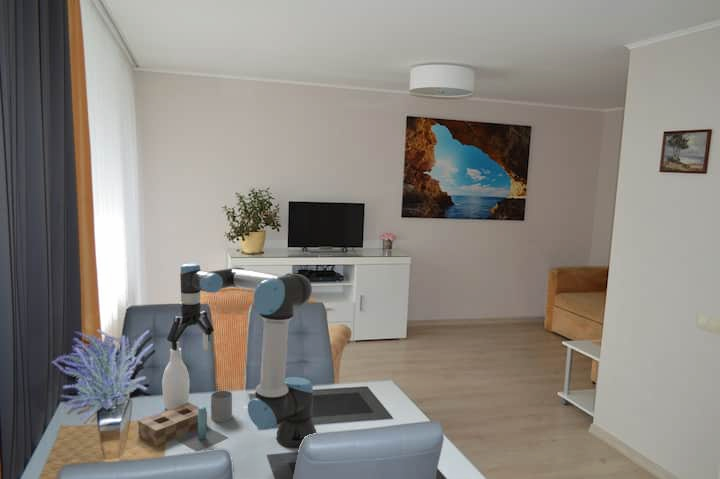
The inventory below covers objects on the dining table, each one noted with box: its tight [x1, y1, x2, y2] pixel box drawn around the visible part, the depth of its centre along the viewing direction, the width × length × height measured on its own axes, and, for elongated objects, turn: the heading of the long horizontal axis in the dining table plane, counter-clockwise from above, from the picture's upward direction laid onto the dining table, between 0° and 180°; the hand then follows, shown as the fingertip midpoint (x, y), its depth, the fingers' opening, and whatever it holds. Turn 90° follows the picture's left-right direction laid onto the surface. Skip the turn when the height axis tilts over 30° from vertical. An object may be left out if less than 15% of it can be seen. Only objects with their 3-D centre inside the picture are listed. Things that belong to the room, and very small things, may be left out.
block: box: [137, 402, 208, 446], centre depth 209 cm, size 12×22×6 cm, turn 142°
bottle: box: [161, 347, 191, 411], centre depth 229 cm, size 11×11×25 cm
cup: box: [210, 390, 233, 423], centre depth 220 cm, size 8×8×10 cm
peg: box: [197, 406, 207, 440], centre depth 202 cm, size 3×3×12 cm
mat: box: [174, 426, 229, 452], centre depth 203 cm, size 14×14×1 cm
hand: (191, 353), depth 219 cm, fingers open, 13 cm apart
